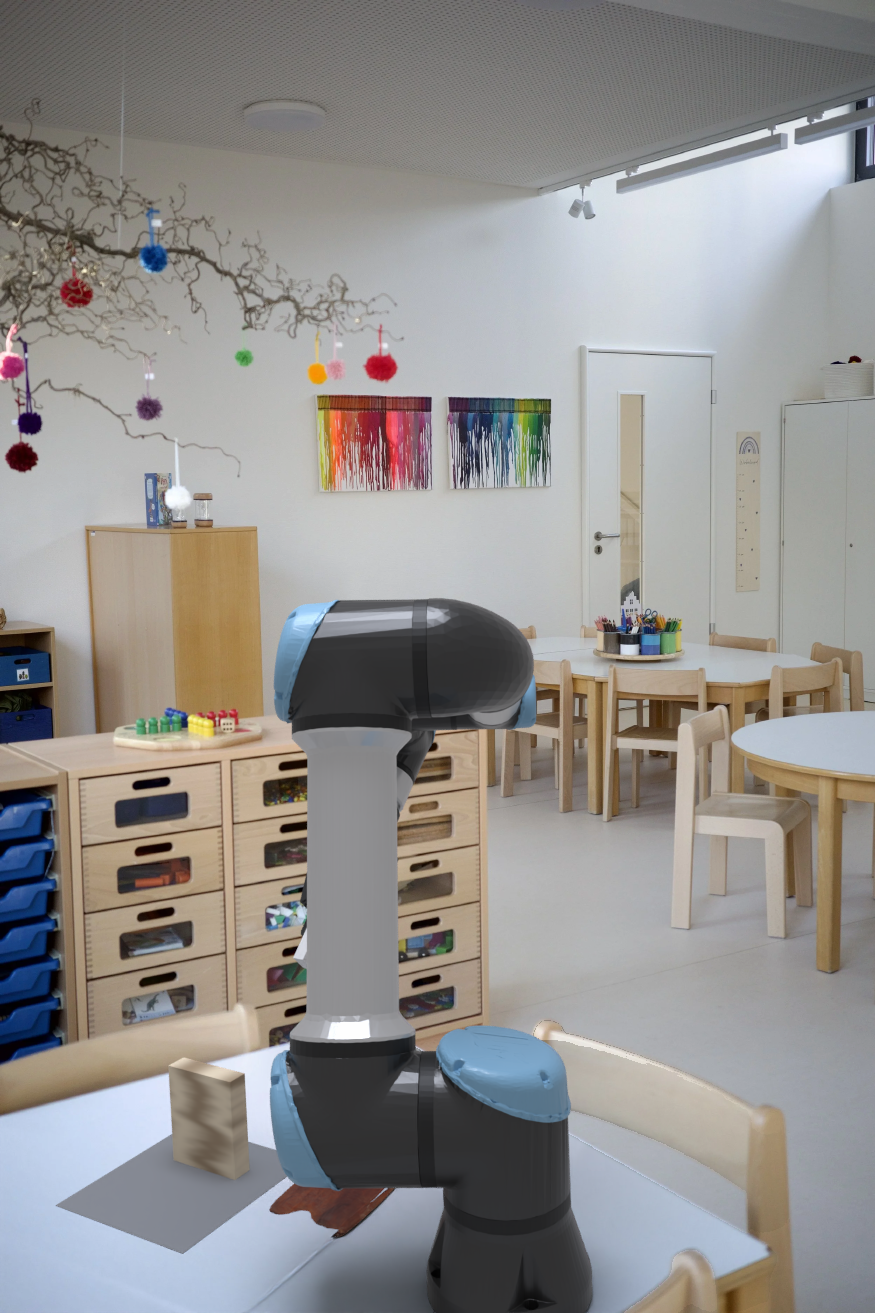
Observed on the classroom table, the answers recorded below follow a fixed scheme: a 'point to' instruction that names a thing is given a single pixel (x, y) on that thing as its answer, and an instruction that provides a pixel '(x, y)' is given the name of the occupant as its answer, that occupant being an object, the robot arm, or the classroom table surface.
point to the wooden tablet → (331, 1205)
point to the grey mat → (173, 1195)
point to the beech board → (209, 1117)
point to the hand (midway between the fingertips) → (303, 964)
